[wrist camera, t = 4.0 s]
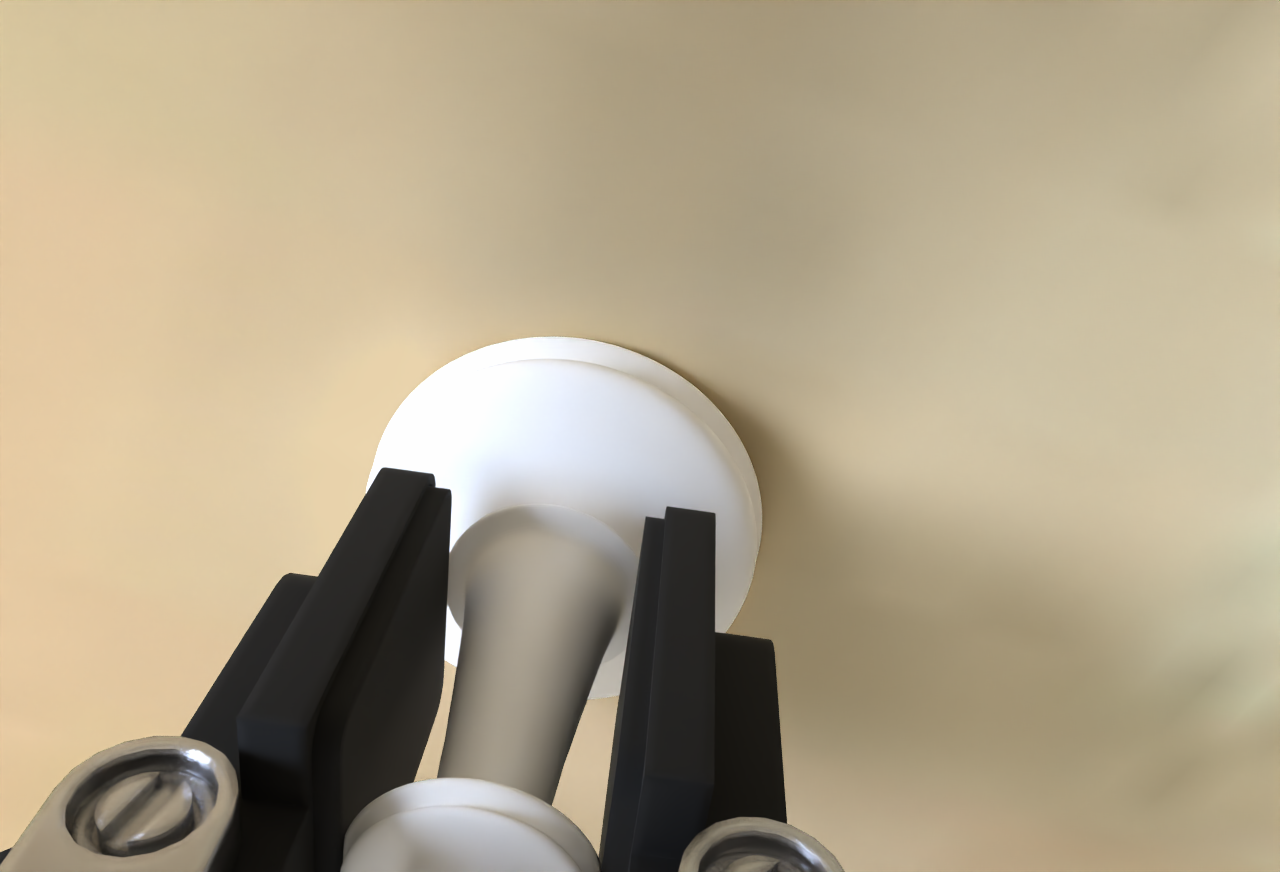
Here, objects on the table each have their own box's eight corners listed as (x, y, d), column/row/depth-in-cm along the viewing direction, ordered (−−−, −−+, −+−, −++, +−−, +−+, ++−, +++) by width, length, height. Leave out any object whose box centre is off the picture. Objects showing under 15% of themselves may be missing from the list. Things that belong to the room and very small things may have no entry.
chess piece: (837, 563, 13) (1048, 1862, 5) (536, 724, 15) (260, 1919, 6) (603, 253, 12) (230, 1341, 3) (293, 470, 13) (-553, 1596, 5)
